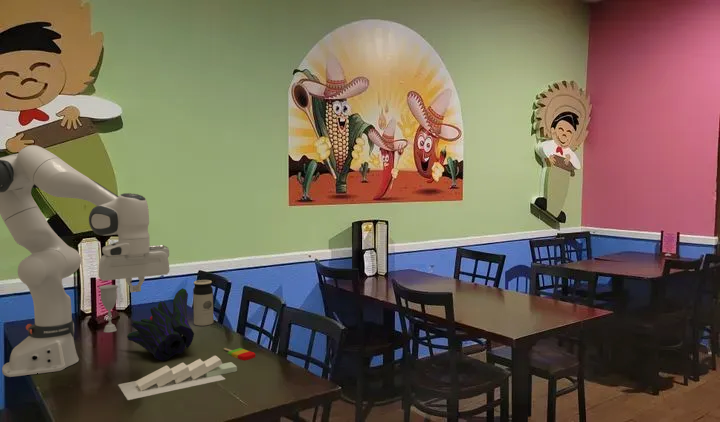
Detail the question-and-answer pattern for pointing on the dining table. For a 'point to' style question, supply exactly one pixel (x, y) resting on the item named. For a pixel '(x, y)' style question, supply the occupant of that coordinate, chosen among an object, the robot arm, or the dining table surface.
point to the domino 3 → (192, 370)
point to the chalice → (109, 303)
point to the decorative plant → (165, 329)
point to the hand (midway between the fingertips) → (135, 291)
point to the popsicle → (241, 354)
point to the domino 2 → (174, 374)
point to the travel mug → (203, 302)
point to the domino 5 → (222, 369)
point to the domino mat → (164, 386)
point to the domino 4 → (208, 366)
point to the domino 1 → (154, 378)
